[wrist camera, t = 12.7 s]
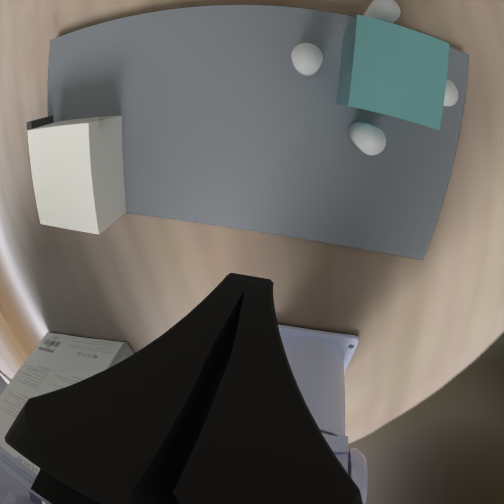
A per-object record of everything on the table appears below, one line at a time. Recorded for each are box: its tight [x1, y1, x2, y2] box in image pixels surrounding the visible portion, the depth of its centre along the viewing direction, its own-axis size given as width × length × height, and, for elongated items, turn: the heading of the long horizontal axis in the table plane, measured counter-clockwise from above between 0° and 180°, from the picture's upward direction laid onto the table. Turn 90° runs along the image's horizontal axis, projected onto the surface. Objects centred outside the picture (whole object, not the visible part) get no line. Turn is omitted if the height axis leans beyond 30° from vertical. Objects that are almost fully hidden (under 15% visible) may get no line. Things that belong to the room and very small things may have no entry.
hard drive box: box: [0, 332, 134, 475], centre depth 24 cm, size 16×8×20 cm, turn 102°
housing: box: [27, 115, 127, 235], centre depth 17 cm, size 7×6×4 cm
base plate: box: [27, 0, 469, 260], centre depth 15 cm, size 15×28×4 cm, turn 85°
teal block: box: [336, 15, 449, 130], centre depth 11 cm, size 4×4×5 cm
